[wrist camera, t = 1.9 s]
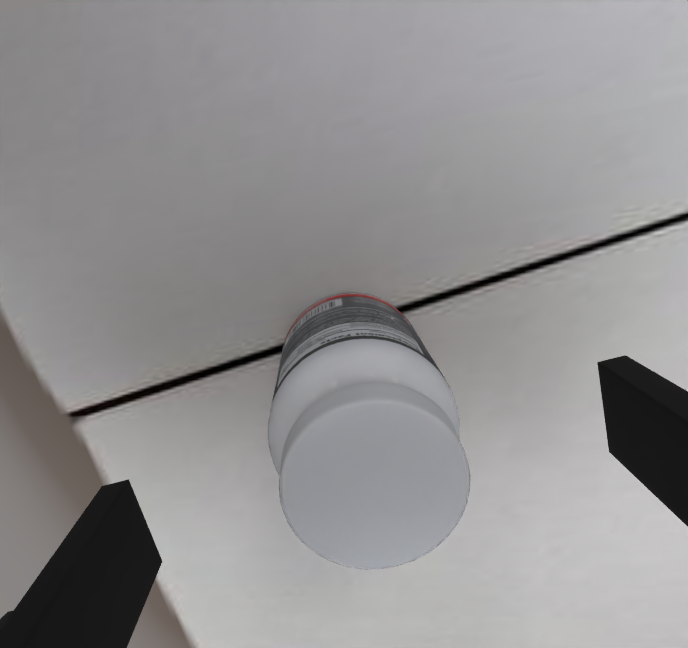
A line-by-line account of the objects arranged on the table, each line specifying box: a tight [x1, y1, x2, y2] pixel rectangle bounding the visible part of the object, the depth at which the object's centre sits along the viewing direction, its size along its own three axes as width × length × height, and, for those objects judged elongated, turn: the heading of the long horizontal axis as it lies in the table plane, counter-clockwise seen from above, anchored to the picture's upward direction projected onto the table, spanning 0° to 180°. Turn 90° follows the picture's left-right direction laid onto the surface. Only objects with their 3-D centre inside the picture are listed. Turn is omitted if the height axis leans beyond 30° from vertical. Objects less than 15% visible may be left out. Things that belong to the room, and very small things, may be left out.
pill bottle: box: [268, 293, 470, 569], centre depth 18 cm, size 6×6×10 cm
